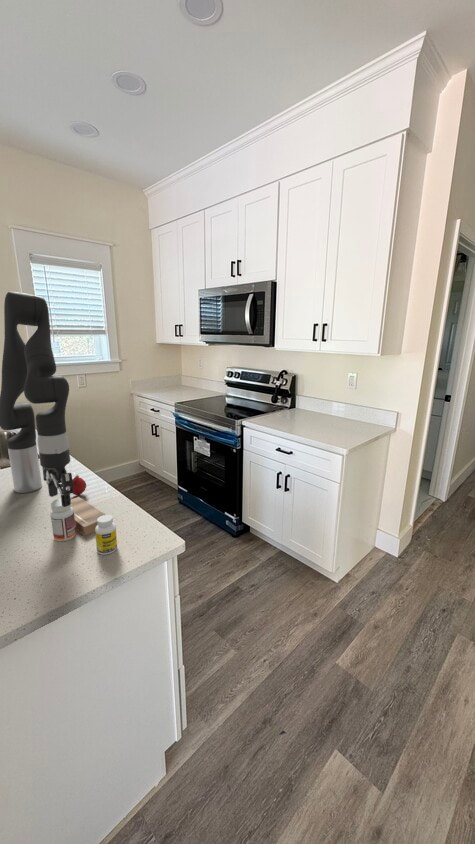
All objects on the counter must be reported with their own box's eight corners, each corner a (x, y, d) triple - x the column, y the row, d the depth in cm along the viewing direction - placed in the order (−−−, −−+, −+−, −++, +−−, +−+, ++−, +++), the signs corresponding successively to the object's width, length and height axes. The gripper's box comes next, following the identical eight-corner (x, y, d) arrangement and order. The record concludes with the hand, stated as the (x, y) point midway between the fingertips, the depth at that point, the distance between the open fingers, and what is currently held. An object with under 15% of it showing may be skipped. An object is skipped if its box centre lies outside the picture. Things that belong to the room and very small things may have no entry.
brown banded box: (56, 513, 118) (55, 504, 117) (79, 504, 124) (78, 496, 123) (85, 535, 105) (84, 526, 104) (109, 525, 111) (108, 516, 110)
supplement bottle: (102, 558, 95) (99, 526, 93) (93, 549, 99) (90, 518, 96) (121, 549, 99) (118, 518, 97) (111, 541, 103) (109, 511, 100)
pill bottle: (76, 528, 109) (72, 495, 106) (76, 539, 104) (72, 504, 101) (53, 533, 106) (49, 499, 103) (53, 544, 101) (48, 508, 98)
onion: (80, 499, 127) (78, 479, 125) (66, 498, 128) (64, 477, 126) (90, 492, 132) (88, 473, 130) (76, 491, 134) (74, 471, 131)
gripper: (29, 444, 99) (36, 496, 103) (50, 458, 90) (57, 514, 94) (56, 439, 105) (62, 488, 109) (79, 451, 96) (84, 504, 100)
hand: (60, 500), depth 102 cm, fingers open, 8 cm apart
